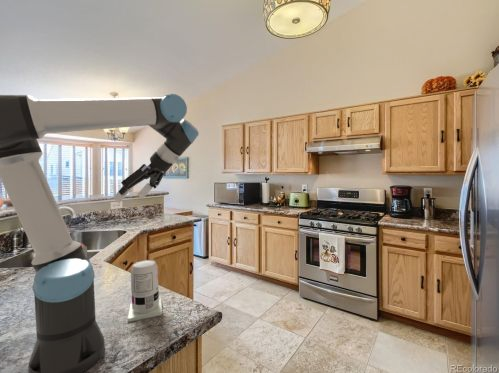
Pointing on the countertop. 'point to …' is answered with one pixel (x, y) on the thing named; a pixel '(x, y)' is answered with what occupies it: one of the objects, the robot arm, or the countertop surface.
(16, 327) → the countertop surface
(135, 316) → the white square coaster
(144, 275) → the supplement can
